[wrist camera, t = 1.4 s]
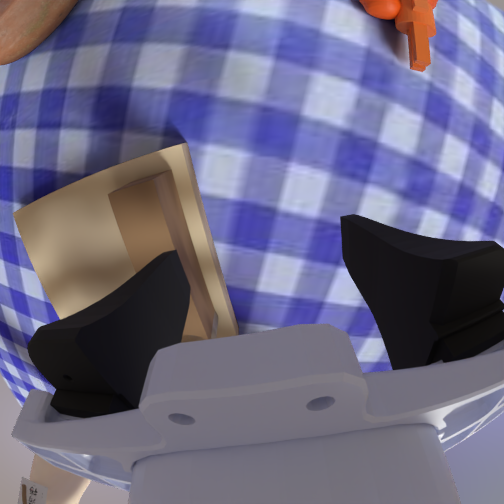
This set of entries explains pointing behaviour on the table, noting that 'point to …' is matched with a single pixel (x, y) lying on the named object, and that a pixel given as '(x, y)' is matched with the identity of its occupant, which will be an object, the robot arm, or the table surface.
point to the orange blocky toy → (409, 24)
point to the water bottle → (51, 485)
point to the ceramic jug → (28, 25)
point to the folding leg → (164, 242)
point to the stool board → (111, 236)
